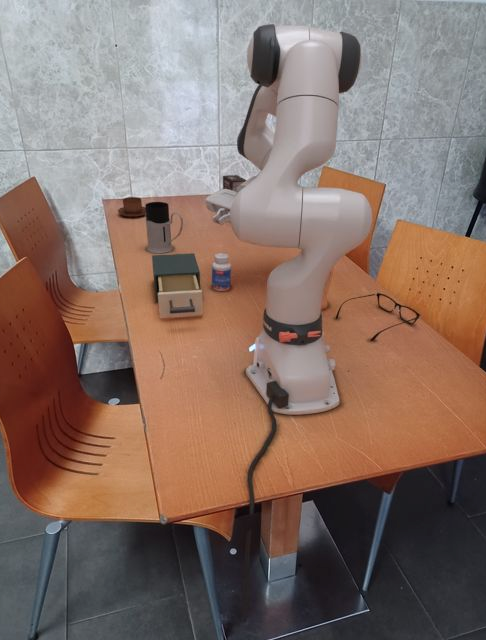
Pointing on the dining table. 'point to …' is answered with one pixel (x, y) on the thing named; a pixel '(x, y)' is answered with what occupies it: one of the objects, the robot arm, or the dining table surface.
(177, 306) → the drawer
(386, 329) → the eyeglasses
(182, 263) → the cabinet
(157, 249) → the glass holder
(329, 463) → the dining table surface
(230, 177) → the coffee box
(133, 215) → the brown round flanged piece
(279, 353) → the robot arm
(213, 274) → the pill bottle
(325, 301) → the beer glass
